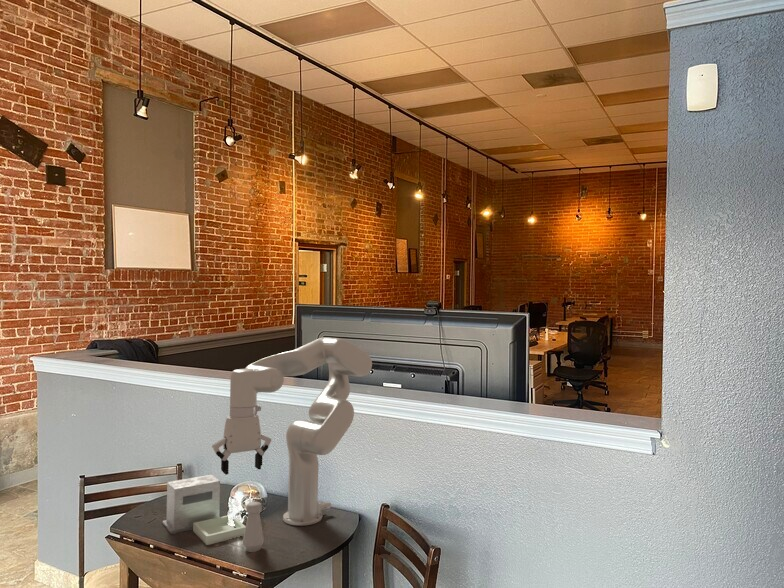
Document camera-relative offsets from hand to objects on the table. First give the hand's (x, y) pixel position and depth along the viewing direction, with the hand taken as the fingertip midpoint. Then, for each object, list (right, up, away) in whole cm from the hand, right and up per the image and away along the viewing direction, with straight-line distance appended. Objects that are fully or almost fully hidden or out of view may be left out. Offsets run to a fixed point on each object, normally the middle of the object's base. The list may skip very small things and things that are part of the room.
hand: (241, 470), depth 164 cm
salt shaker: (+4, -21, -4) cm, 22 cm away
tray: (-8, -21, +6) cm, 23 cm away
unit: (-19, -21, +14) cm, 31 cm away
